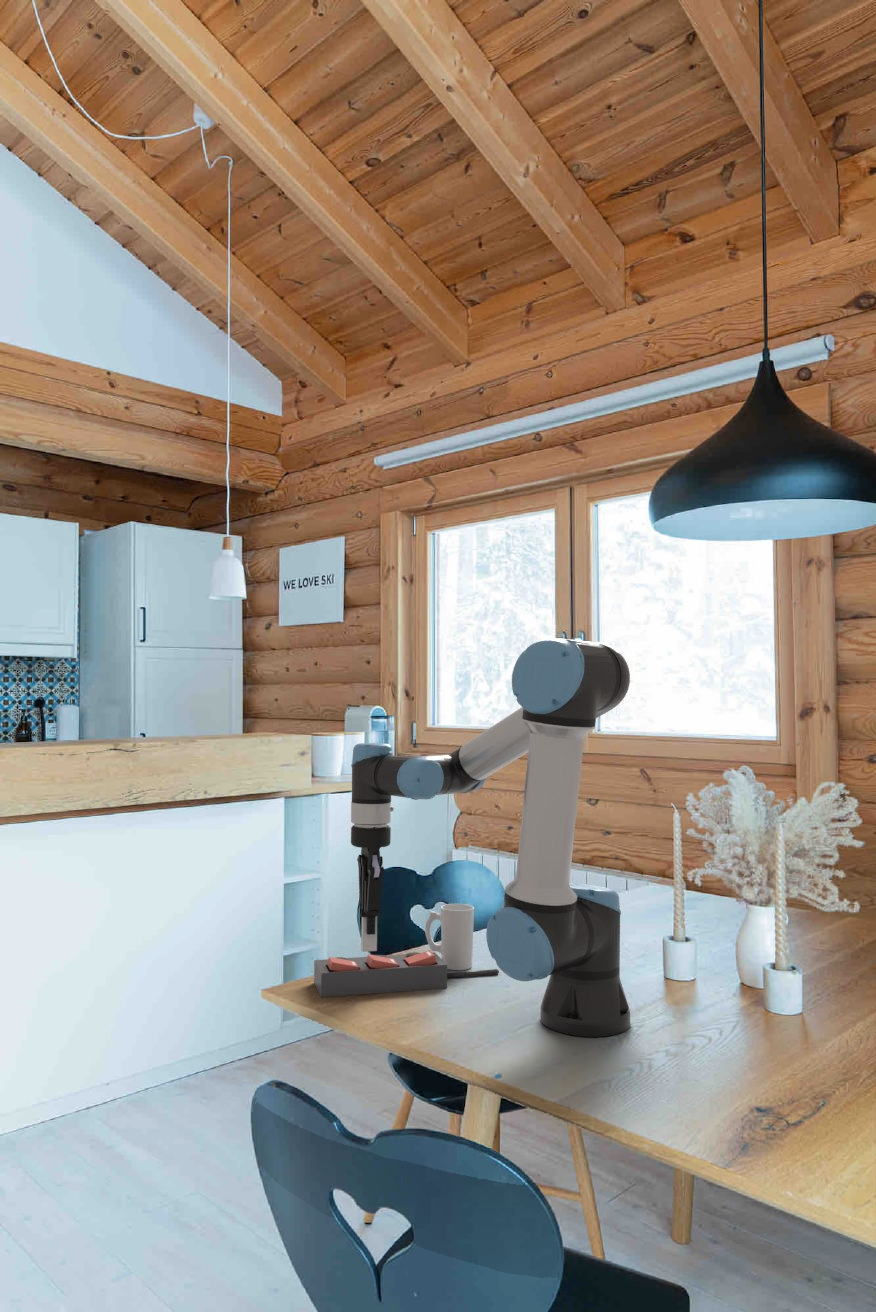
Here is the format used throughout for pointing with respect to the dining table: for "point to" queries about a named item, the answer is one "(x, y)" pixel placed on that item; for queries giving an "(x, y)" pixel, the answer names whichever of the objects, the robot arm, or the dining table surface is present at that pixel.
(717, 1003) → the dining table surface
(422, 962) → the rocker
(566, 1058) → the dining table surface
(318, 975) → the switch panel
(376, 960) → the rocker
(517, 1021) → the dining table surface
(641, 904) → the dining table surface
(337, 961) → the rocker
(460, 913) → the mug
